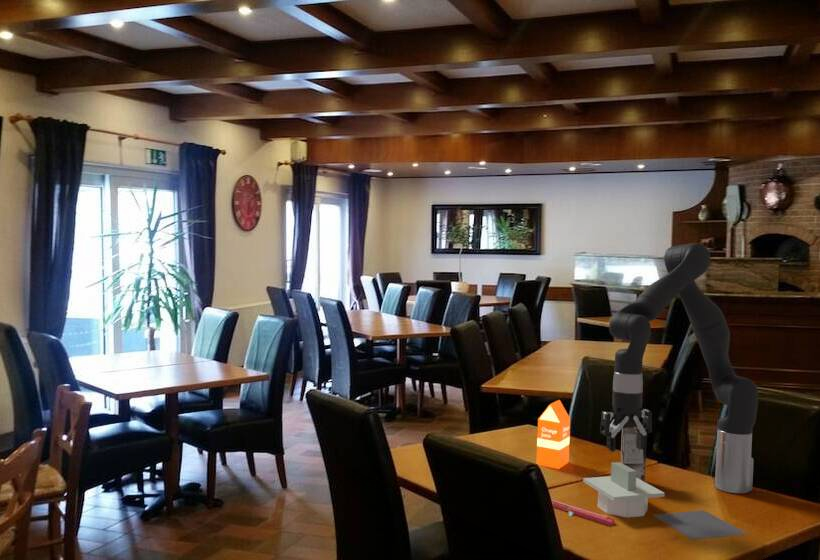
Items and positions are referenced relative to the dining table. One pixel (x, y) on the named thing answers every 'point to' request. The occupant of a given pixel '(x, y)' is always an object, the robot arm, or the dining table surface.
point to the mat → (699, 524)
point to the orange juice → (553, 436)
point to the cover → (623, 484)
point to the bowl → (623, 506)
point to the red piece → (584, 513)
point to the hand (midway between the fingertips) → (625, 449)
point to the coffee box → (633, 452)
